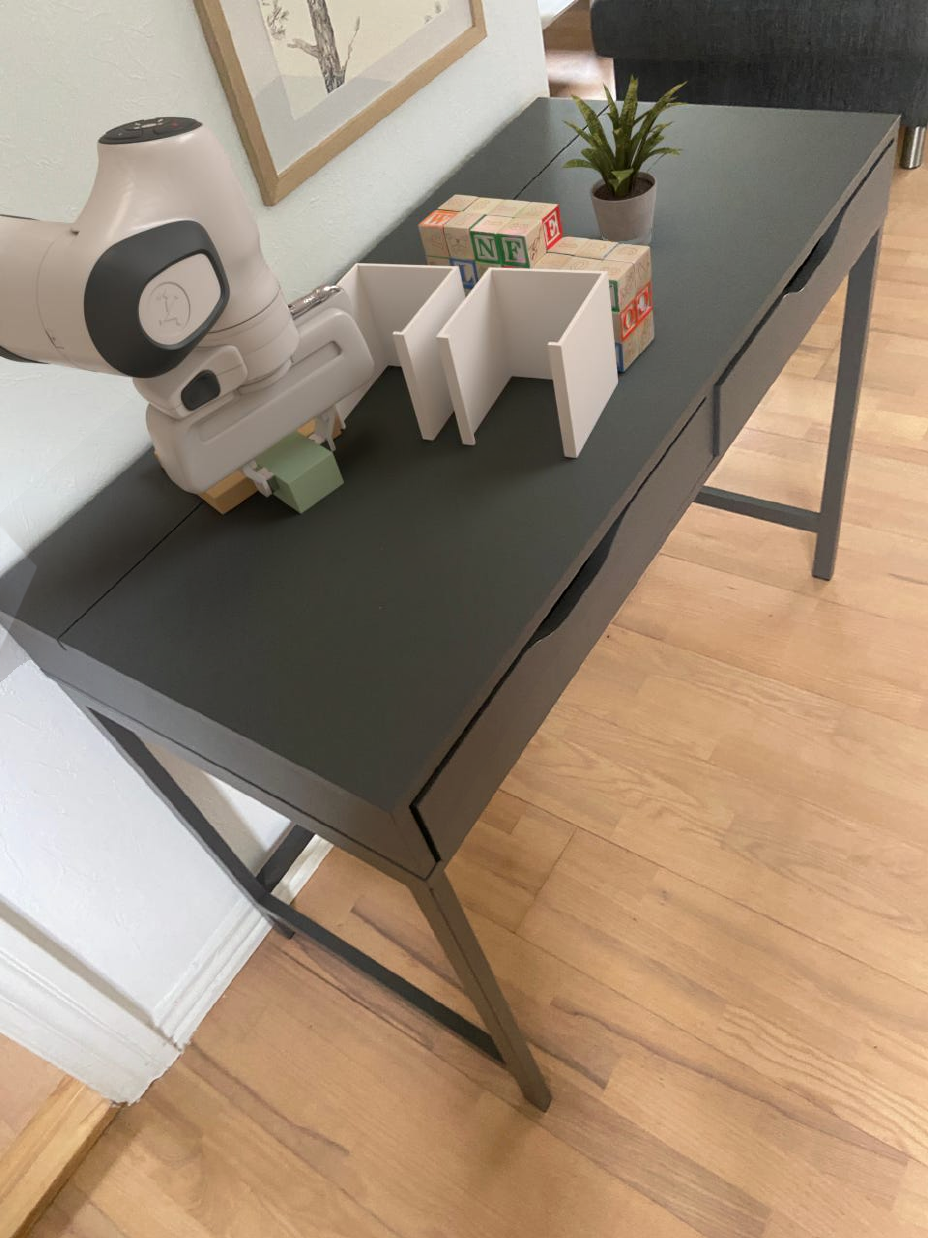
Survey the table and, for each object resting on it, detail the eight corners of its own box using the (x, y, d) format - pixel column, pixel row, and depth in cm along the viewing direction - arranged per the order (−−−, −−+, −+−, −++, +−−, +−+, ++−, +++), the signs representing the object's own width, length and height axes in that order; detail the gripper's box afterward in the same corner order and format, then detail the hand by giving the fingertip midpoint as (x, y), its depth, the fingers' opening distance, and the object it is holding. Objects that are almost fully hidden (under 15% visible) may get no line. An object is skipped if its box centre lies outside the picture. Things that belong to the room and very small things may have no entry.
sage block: (301, 514, 81) (287, 483, 78) (251, 479, 86) (237, 449, 83) (344, 483, 83) (332, 452, 80) (293, 450, 88) (281, 420, 85)
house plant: (709, 265, 94) (709, 95, 83) (575, 290, 96) (556, 128, 85) (687, 205, 104) (684, 45, 92) (566, 229, 106) (547, 75, 94)
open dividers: (618, 382, 84) (607, 271, 76) (576, 458, 78) (560, 345, 70) (386, 362, 95) (356, 262, 87) (334, 428, 89) (296, 327, 81)
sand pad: (223, 515, 83) (214, 498, 82) (162, 467, 90) (153, 451, 89) (342, 433, 88) (335, 416, 86) (275, 394, 95) (268, 378, 93)
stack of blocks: (656, 338, 88) (649, 212, 79) (624, 374, 85) (613, 248, 76) (478, 305, 99) (454, 191, 90) (444, 336, 96) (415, 221, 87)
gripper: (319, 264, 78) (365, 400, 88) (113, 388, 71) (188, 520, 81) (363, 282, 74) (405, 422, 84) (150, 415, 67) (224, 549, 77)
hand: (297, 471), depth 82 cm, fingers closed on sage block, 5 cm apart
